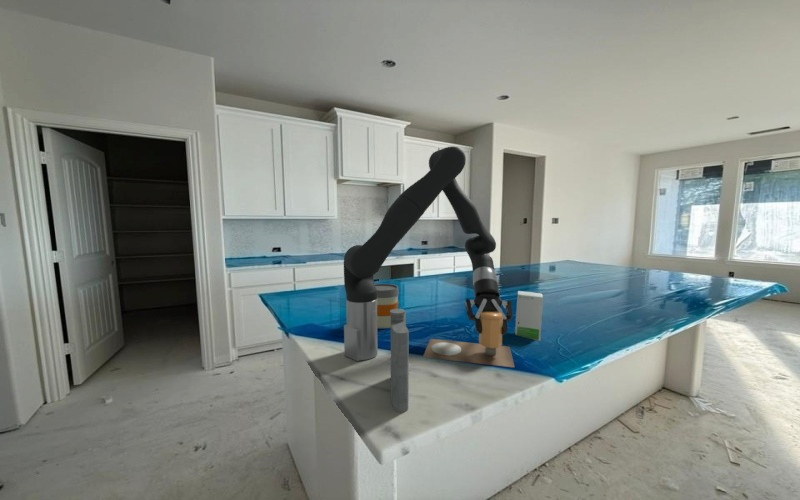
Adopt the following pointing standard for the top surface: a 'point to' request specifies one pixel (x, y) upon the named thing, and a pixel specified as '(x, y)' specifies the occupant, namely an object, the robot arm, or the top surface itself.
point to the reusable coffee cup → (386, 303)
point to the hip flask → (399, 360)
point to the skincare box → (529, 315)
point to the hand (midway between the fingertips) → (492, 332)
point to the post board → (469, 353)
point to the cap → (491, 329)
